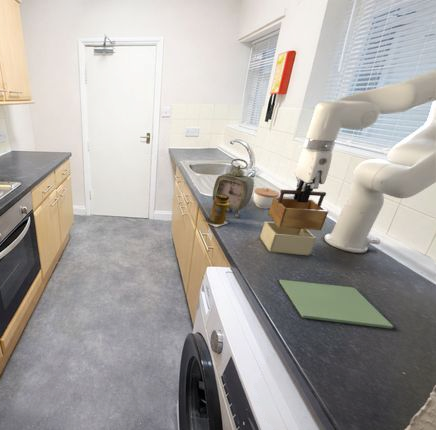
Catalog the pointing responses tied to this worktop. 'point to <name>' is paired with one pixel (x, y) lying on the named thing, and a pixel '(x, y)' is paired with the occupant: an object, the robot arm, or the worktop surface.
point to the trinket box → (264, 197)
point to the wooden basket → (298, 211)
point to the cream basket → (287, 239)
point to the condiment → (218, 211)
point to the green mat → (333, 304)
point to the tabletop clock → (235, 188)
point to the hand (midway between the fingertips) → (300, 200)
